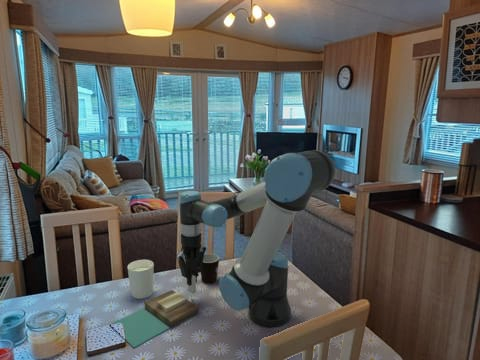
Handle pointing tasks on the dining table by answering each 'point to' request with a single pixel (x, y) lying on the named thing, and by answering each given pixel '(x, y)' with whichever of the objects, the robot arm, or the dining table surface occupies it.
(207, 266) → the coffee mug
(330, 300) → the dining table surface
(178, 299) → the light wooden block
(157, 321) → the mat
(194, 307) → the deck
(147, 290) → the candle holder
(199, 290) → the dining table surface
